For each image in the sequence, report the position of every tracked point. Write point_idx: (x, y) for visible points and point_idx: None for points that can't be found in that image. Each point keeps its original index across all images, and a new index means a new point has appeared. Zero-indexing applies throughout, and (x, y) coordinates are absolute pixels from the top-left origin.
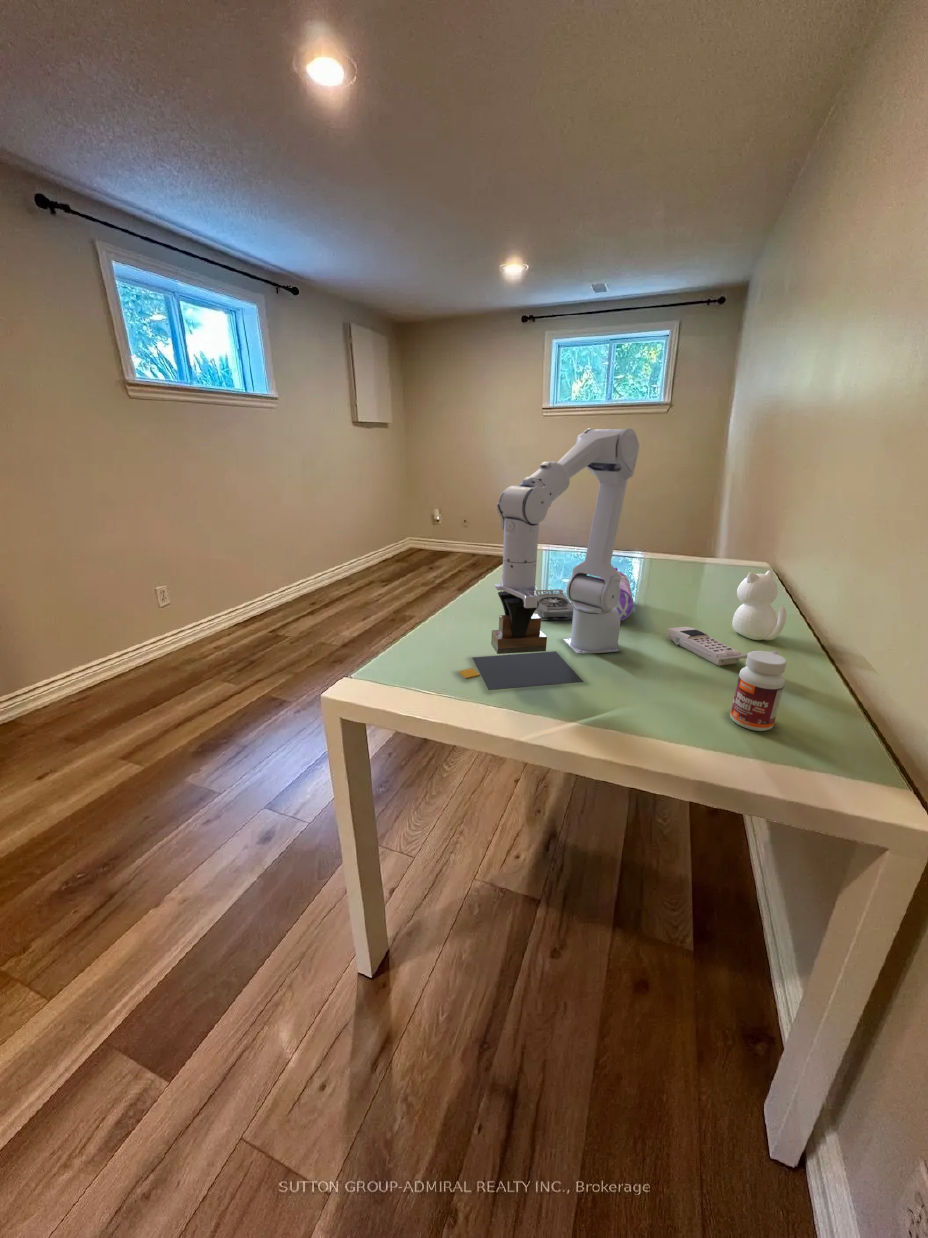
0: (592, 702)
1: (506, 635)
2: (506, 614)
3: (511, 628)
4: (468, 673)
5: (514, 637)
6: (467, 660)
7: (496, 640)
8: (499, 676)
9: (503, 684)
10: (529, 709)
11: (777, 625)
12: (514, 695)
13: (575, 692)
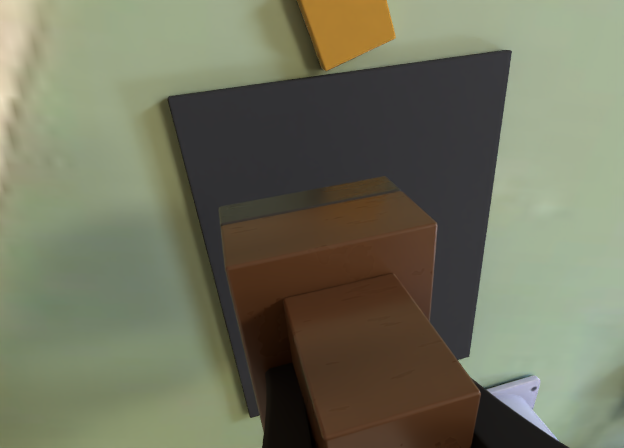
0: (122, 429)
1: (289, 333)
2: (480, 444)
3: (293, 416)
4: (342, 7)
5: (266, 375)
6: (500, 24)
7: (269, 242)
8: (304, 162)
9: (225, 172)
10: (22, 255)
11: None
12: (144, 207)
13: (188, 392)
